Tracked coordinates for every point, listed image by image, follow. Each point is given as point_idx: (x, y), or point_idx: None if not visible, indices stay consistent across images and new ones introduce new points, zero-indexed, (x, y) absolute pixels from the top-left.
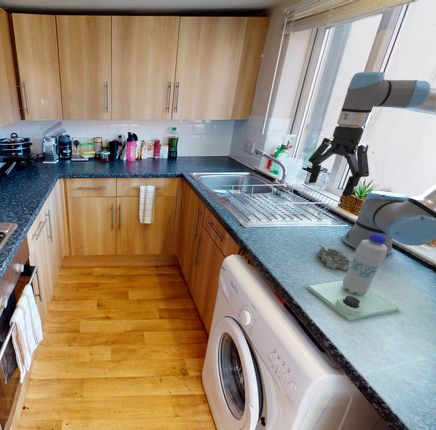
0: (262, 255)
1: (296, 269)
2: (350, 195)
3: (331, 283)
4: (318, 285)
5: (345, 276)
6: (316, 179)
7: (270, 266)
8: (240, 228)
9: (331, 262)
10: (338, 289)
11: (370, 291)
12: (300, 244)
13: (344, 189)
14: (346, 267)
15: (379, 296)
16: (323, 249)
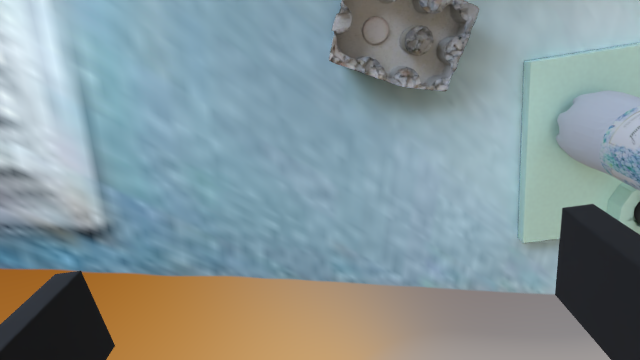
0: (329, 267)
1: (421, 207)
2: (593, 211)
3: (533, 166)
4: (530, 214)
5: (584, 163)
6: (53, 307)
7: (394, 276)
8: (121, 248)
9: (444, 90)
10: (564, 167)
11: (608, 62)
12: (248, 73)
13: (604, 350)
14: (463, 24)
15: (638, 52)
16: (335, 34)
